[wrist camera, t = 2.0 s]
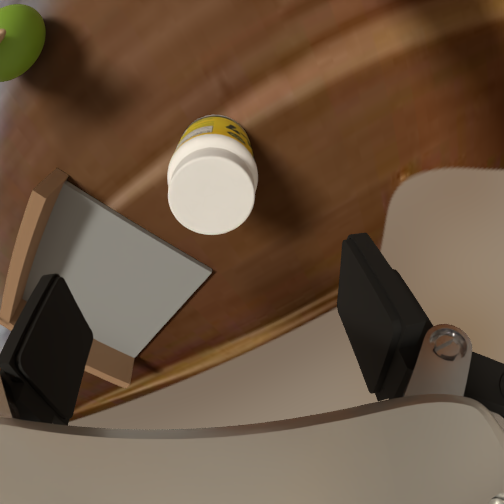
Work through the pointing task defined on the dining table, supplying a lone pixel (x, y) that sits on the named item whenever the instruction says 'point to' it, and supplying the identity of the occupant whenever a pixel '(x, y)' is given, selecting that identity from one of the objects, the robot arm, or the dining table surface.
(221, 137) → the supplement bottle
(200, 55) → the dining table surface
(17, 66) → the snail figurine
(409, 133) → the dining table surface
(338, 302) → the robot arm
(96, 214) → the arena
